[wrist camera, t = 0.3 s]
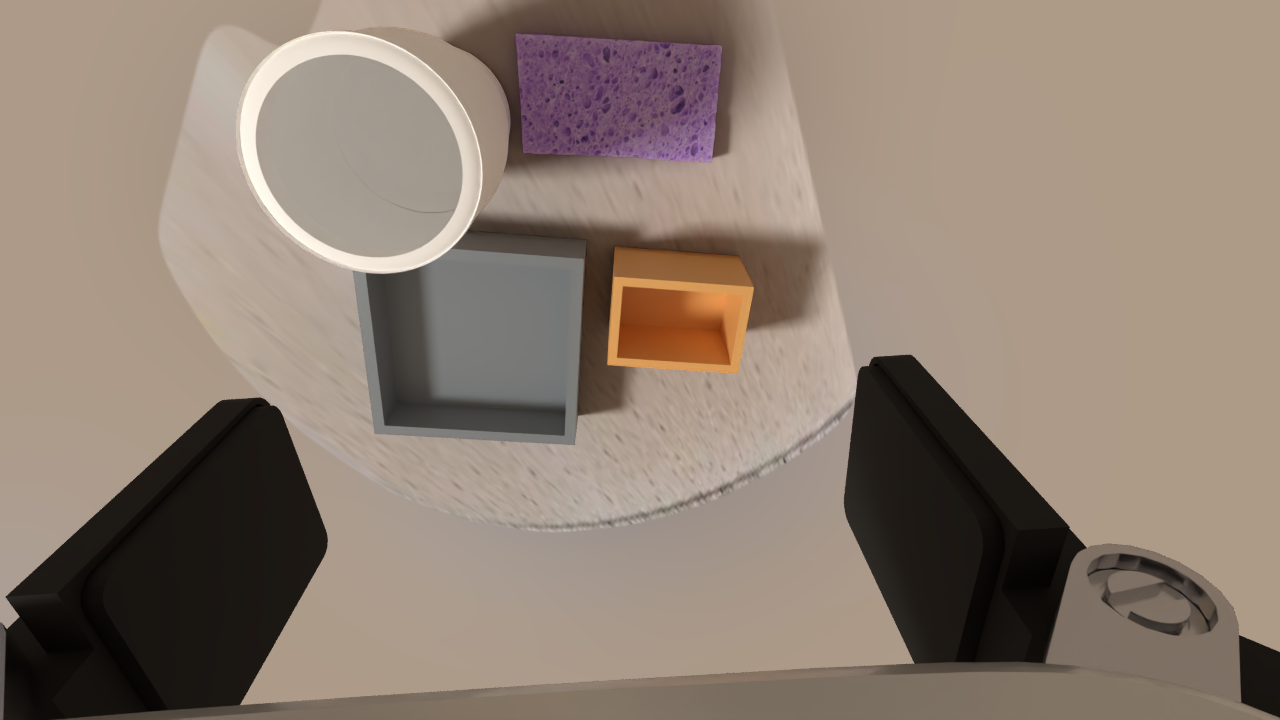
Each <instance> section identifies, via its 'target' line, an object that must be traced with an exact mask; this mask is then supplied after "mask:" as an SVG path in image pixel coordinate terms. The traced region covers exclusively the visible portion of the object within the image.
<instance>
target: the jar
mask: <svg viewBox="0 0 1280 720" xmlns="http://www.w3.org/2000/svg"><path fill="white" fill-rule="evenodd" d="M510 126H511V118H510V109H509V105H508V101H507V98H506V95H505V93H504V90H503V88H502V86H501V84H500V83H499V81H498V80H497V78H496V77H495V75H494V74H493V73H492V72H491V70H490V69H489V68H488V67H487V66H486V65H485V64H484V63H482V62H481V61H480V60H479V59H477V58H476V57H475V56H473V55H471V54H470V53H468V52H466V51H464V50H461V49H459V48H456V47H454V46H452V45H450V44H449V43H447V42H445V41H443V40H441V39H439V38H437V37H434V36H432V35H429V34H426V33H423V32H419V31H415V30H411V29H405V28H397V27H374V28H366V29H360V30H356V31H353V30H332V31H324V32H318V33H313V34H308V35H305V36H302V37H299V38H296V39H294V40H291V41H289V42H287V43H285V44H284V45H282V46H280V47H278V48H277V49H275V50H274V51H273V52H271V53H270V54H269V55H268V56H267V57H266V58H265V59H264V60H263V61H262V62H261V63H260V64H259V65H258V66H257V67H256V69H255V70H254V71H253V73H252V74H251V76H250V77H249V79H248V81H247V83H246V85H245V87H244V89H243V92H242V94H241V97H240V100H239V104H238V109H237V114H236V125H235V136H236V147H237V153H238V158H239V162H240V165H241V168H242V171H243V174H244V177H245V179H246V182H247V184H248V186H249V188H250V190H251V192H252V194H253V196H254V197H255V199H256V201H257V202H258V204H259V205H260V207H261V208H262V210H263V211H264V212H265V214H266V215H267V216H268V217H269V219H270V220H271V221H272V222H273V223H274V224H275V225H276V226H277V227H278V229H280V230H281V231H282V232H283V233H284V234H285V235H286V236H287V237H288V238H289V239H291V240H292V241H293V242H294V243H296V244H297V245H298V246H300V247H301V248H303V249H304V250H306V251H307V252H309V253H311V254H312V255H314V256H316V257H318V258H320V259H322V260H324V261H326V262H329V263H331V264H334V265H336V266H339V267H342V268H346V269H349V270H354V271H359V272H365V273H377V274H386V273H397V272H403V271H408V270H412V269H415V268H418V267H421V266H423V265H426V264H428V263H430V262H432V261H434V260H436V259H437V258H439V257H440V256H442V255H443V254H445V253H446V252H447V251H448V250H450V249H451V248H452V247H453V246H454V245H455V244H456V243H457V242H458V241H459V240H460V239H461V238H462V237H463V235H464V234H465V233H466V232H467V230H468V229H469V227H470V226H471V224H472V223H473V221H474V219H475V217H476V216H477V215H478V214H479V213H480V212H481V211H482V210H483V209H484V208H485V206H486V205H487V204H488V202H489V201H490V200H491V198H492V196H493V195H494V193H495V191H496V190H497V188H498V185H499V183H500V181H501V178H502V176H503V173H504V169H505V166H506V161H507V155H508V139H509V134H510Z"/></svg>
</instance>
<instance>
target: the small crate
mask: <svg viewBox="0 0 1280 720" xmlns="http://www.w3.org/2000/svg"><path fill="white" fill-rule="evenodd" d="M753 291H754V286H753V284H752V282H751V280H750V278H749V276H748V274H747V272H746V269H745V267H744V265H743V263H742V261H741V259H740V257H739V256H733V255H720V254H708V253H695V252H682V251H669V250H656V249H644V248H631V247H618V246H615V250H614V263H613V277H612V290H611V304H610V318H609V335H608V362H607V365H614V366H629V367H645V368H660V369H675V370H691V371H706V372H721V373H737V374H738V370H739V365H740V360H741V355H742V349H743V344H744V339H745V333H746V328H747V323H748V317H749V312H750V307H751V302H752V296H753Z"/></svg>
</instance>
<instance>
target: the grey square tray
mask: <svg viewBox="0 0 1280 720" xmlns="http://www.w3.org/2000/svg"><path fill="white" fill-rule="evenodd" d="M586 249H587V240H580V239H567V238H555V237H542V236H529V235H516V234H504V233H491V232H478V231H467V232H466V233H465V234H464V235H463V237H462V238H461V239H460V240H459V241H458V242H457V243H456V244H455V245H454V246H453V247H452V248H451V249H450V250H448V251H447V252H446V253H445V254H443V255H442V256H440V257H439V258H437V259H436V260H434V261H432V262H430V263H428V264H426V265H423V266H421V267H418V268H415V269H412V270H408V271H403V272H397V273H386V274H377V273H365V272H359V271H354V270H353V275H354V283H355V290H356V298H357V305H358V313H359V320H360V328H361V335H362V343H363V350H364V358H365V365H366V372H367V380H368V387H369V395H370V402H371V410H372V417H373V425H374V432H375V434H388V435H406V436H424V437H441V438H459V439H477V440H494V441H512V442H530V443H547V444H565V445H575V438H576V429H577V419H578V404H579V384H580V365H581V346H582V326H583V307H584V287H585V268H586Z"/></svg>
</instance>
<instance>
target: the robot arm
mask: <svg viewBox="0 0 1280 720" xmlns="http://www.w3.org/2000/svg"><path fill="white" fill-rule="evenodd" d="M844 508H845V513H846V518H847V520H848V523H849V525H850V527H851V529H852V531H853V533H854V536H855V537H856V540H857V542H858V544H859V546H860V548H861V551H862V553H863V555H864V557H865V559H866V561H867V563H868V565H869V568H870V570H871V572H872V574H873V576H874V578H875V580H876V583H877V584H878V587H879V589H880V591H881V593H882V595H883V597H884V600H885V601H886V604H887V606H888V608H889V610H890V612H891V614H892V617H893V618H894V621H895V623H896V625H897V627H898V629H899V631H900V634H901V636H902V638H903V640H904V642H905V644H906V646H907V648H908V651H909V653H910V655H911V657H912V659H913V661H914V663H915V664H898V665H876V666H854V667H831V668H810V669H792V670H776V671H759V672H745V673H744V672H742V673H726V674H708V675H693V676H676V677H659V678H642V679H625V680H609V681H592V682H579V683H562V684H546V685H532V686H531V685H530V686H516V687H501V688H500V687H499V688H485V689H469V690H454V691H440V692H424V693H410V694H393V695H378V696H364V697H349V698H335V699H321V700H309V701H293V702H279V703H265V704H253V705H252V704H251V705H240V704H241V702H242V700H243V699H244V696H245V695H246V693H247V692H248V690H249V688H250V686H251V684H252V683H253V681H254V679H255V678H256V676H257V674H258V672H259V670H260V669H261V667H262V665H263V663H264V662H265V660H266V658H267V656H268V655H269V653H270V651H271V649H272V648H273V646H274V644H275V642H276V640H277V639H278V637H279V635H280V633H281V632H282V630H283V628H284V626H285V625H286V623H287V621H288V619H289V618H290V616H291V614H292V612H293V610H294V609H295V607H296V605H297V603H298V601H299V600H300V598H301V596H302V595H303V593H304V591H305V589H306V588H307V586H308V584H309V582H310V580H311V579H312V577H313V575H314V573H315V572H316V570H317V568H318V566H319V565H320V563H321V561H322V559H323V557H324V555H325V553H326V550H327V542H328V538H327V533H326V529H325V527H324V524H323V521H322V519H321V516H320V513H319V511H318V508H317V506H316V503H315V500H314V498H313V495H312V492H311V490H310V487H309V484H308V482H307V479H306V476H305V474H304V471H303V468H302V466H301V463H300V461H299V458H298V455H297V453H296V450H295V447H294V445H293V442H292V439H291V437H290V434H289V431H288V429H287V426H286V423H285V421H284V418H283V415H282V413H281V411H280V410H279V409H278V408H277V407H276V406H270V404H269V403H268V402H267V401H266V400H265V399H263V398H248V399H231V400H222V401H220V402H218V403H217V404H216V405H215V406H214V407H213V408H211V409H210V410H209V411H208V412H207V413H206V414H205V415H204V416H203V417H202V418H200V420H198V421H197V422H196V423H195V424H194V425H193V426H192V427H191V428H190V429H188V430H187V431H186V432H185V433H184V434H183V435H182V436H181V437H180V438H179V439H177V440H176V442H174V443H173V444H172V445H171V446H170V447H169V448H168V449H167V450H165V451H164V452H163V453H162V454H161V455H160V456H159V457H158V458H157V459H156V460H155V461H153V463H151V464H150V465H149V466H148V467H147V468H146V469H145V470H144V471H143V472H142V473H140V475H138V476H137V477H136V478H135V479H134V480H133V481H132V482H130V483H129V484H128V485H127V486H126V487H125V488H124V489H123V490H122V491H121V492H120V493H119V494H117V495H116V496H115V497H114V498H113V499H112V500H111V501H110V502H109V503H108V504H107V505H105V506H104V507H103V508H102V509H101V510H100V511H99V512H98V513H97V514H96V515H94V516H93V517H92V518H91V519H90V520H89V521H88V522H87V523H86V524H85V525H84V526H82V527H81V528H80V529H79V530H78V531H77V532H76V533H75V534H74V535H73V536H71V538H69V539H68V540H67V541H66V542H65V543H64V544H63V545H62V546H61V547H59V548H58V549H57V550H56V551H55V552H54V553H53V554H52V555H51V556H50V557H49V558H47V559H46V560H45V561H44V562H43V563H42V564H41V565H40V566H39V567H38V568H37V569H35V570H34V571H33V572H32V573H31V574H30V575H29V576H28V577H27V578H26V579H25V580H24V581H22V582H21V583H20V584H19V585H18V586H17V587H16V588H15V589H14V590H13V591H11V592H10V593H9V594H8V595H7V596H6V598H7V600H8V601H9V602H10V604H11V605H12V606H13V608H14V609H15V611H16V612H17V613H18V615H19V616H20V617H19V618H18V619H17V620H16V621H15V622H14V623H13V624H12V625H11V626H10V627H9V628H8V629H6V628H5V626H4V625H3V624H2V623H0V720H1280V652H1278V651H1276V650H1273V649H1271V648H1269V647H1266V646H1264V645H1262V644H1259V643H1257V642H1254V641H1252V640H1250V639H1247V638H1245V637H1242V636H1240V635H1239V628H1238V622H1237V618H1236V615H1235V611H1234V608H1233V607H1232V606H1231V604H1230V603H1229V602H1228V600H1227V599H1226V598H1225V597H1224V595H1223V594H1222V593H1221V591H1219V590H1218V589H1217V588H1216V587H1214V585H1212V584H1211V583H1210V582H1209V581H1207V580H1206V579H1205V578H1204V577H1203V576H1202V575H1200V574H1198V573H1197V572H1195V571H1193V570H1192V569H1190V568H1188V567H1187V566H1185V565H1183V564H1181V563H1180V562H1178V561H1175V560H1173V559H1171V558H1168V557H1166V556H1163V555H1161V554H1159V553H1156V552H1153V551H1149V550H1145V549H1141V548H1137V547H1134V546H1128V545H1118V544H1102V545H1095V546H1090V547H1088V548H1086V546H1085V545H1084V544H1083V543H1082V542H1081V541H1080V540H1079V539H1078V538H1077V537H1076V535H1075V534H1074V533H1073V532H1072V531H1071V530H1070V529H1069V528H1070V527H1069V526H1068V525H1067V523H1065V521H1064V520H1063V519H1062V518H1061V517H1060V516H1059V515H1058V514H1057V513H1056V511H1055V510H1054V509H1053V508H1052V507H1051V506H1050V505H1049V504H1048V503H1047V502H1046V501H1045V499H1044V498H1043V497H1042V496H1041V495H1040V494H1039V493H1038V492H1037V491H1036V490H1035V488H1034V487H1033V486H1032V485H1031V484H1030V483H1029V482H1028V481H1027V480H1026V479H1025V478H1024V476H1023V475H1022V474H1021V473H1020V472H1019V471H1018V470H1017V469H1016V468H1015V467H1014V466H1013V465H1012V463H1011V462H1010V461H1009V460H1008V459H1007V458H1006V457H1005V456H1004V455H1003V454H1002V452H1001V451H1000V450H999V449H998V448H997V447H996V446H995V445H994V444H993V443H992V441H991V440H990V439H988V437H987V436H986V435H985V434H984V433H983V432H982V431H981V430H980V428H979V427H978V426H977V425H976V424H975V423H974V422H973V421H972V420H971V419H970V418H969V416H968V415H967V414H966V413H965V412H964V411H963V410H962V409H961V408H960V407H959V406H958V404H957V403H956V402H955V401H954V400H953V399H952V398H951V397H950V396H949V395H948V393H947V392H946V391H945V390H944V389H943V388H942V387H941V386H940V385H939V384H938V383H937V382H936V380H935V379H934V378H933V377H932V376H931V375H930V374H929V373H928V372H927V371H926V369H925V368H924V367H923V366H922V365H921V364H920V363H919V362H918V361H917V360H916V358H915V357H913V356H912V355H899V356H898V355H897V356H883V357H874V358H873V359H872V360H871V362H870V364H869V366H864V367H861V368H860V370H859V373H858V380H857V388H856V397H855V406H854V416H853V424H852V433H851V442H850V450H849V459H848V468H847V478H846V486H845V494H844Z"/></svg>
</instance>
